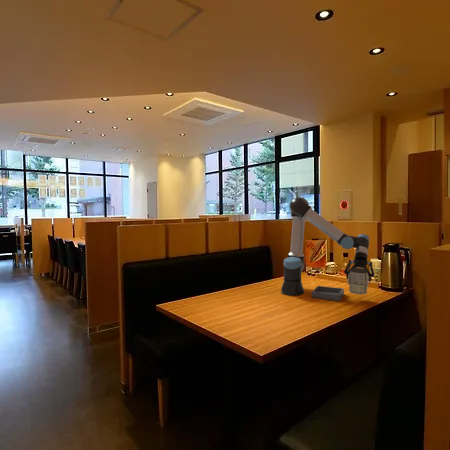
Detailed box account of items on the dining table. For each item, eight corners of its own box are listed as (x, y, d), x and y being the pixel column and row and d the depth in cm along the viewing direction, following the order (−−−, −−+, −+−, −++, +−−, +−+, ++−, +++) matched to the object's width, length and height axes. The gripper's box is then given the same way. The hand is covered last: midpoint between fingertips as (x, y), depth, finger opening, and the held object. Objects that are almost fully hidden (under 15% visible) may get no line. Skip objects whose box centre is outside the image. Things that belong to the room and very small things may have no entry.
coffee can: (346, 289, 201) (347, 267, 200) (363, 290, 200) (364, 268, 199) (351, 294, 190) (352, 271, 190) (369, 294, 189) (370, 271, 189)
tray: (311, 297, 202) (311, 291, 202) (317, 291, 217) (317, 285, 217) (339, 301, 194) (339, 294, 194) (343, 294, 209) (343, 288, 209)
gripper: (380, 260, 202) (378, 290, 189) (343, 257, 213) (338, 285, 200) (380, 252, 197) (378, 283, 184) (342, 250, 208) (337, 278, 195)
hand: (357, 284), depth 192 cm, fingers closed on coffee can, 10 cm apart
